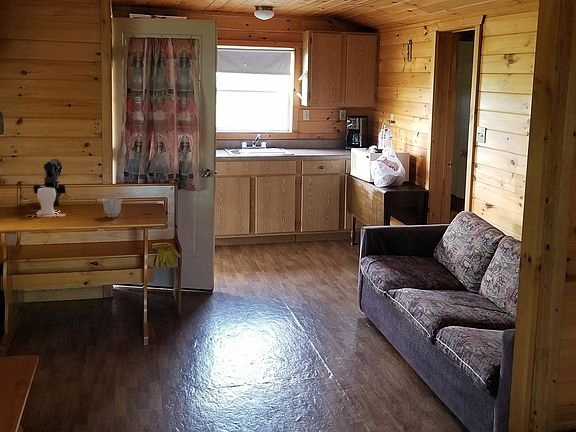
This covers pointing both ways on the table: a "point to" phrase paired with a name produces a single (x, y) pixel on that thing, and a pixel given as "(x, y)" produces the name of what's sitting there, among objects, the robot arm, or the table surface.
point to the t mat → (49, 214)
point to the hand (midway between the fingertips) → (48, 199)
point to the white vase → (46, 199)
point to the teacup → (112, 206)
